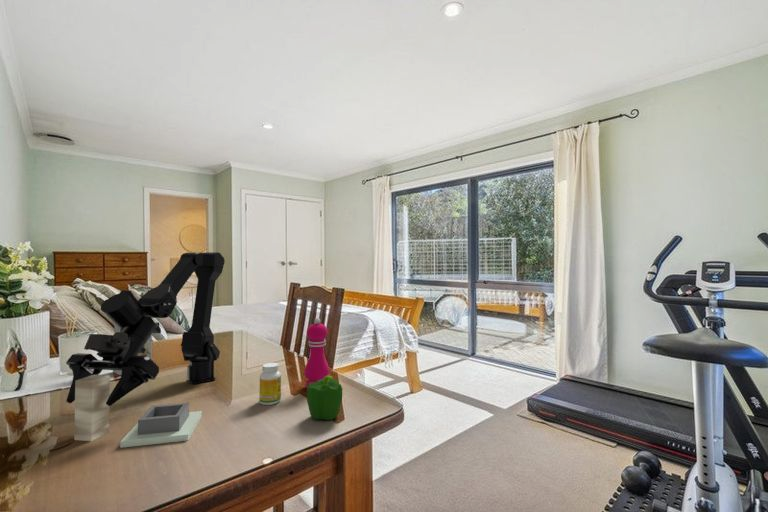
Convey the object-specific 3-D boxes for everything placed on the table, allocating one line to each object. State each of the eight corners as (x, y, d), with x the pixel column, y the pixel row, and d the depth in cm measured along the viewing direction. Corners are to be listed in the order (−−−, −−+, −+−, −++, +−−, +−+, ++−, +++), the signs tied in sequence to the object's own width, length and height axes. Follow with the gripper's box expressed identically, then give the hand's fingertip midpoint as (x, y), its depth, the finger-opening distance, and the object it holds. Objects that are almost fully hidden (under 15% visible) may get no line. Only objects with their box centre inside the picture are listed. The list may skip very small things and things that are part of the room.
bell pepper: (303, 412, 88) (303, 371, 88) (336, 407, 91) (336, 367, 91) (310, 427, 80) (311, 381, 80) (346, 421, 83) (346, 377, 83)
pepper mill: (305, 383, 109) (306, 316, 109) (330, 382, 110) (330, 316, 110) (302, 391, 102) (303, 320, 102) (328, 390, 103) (329, 320, 103)
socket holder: (144, 421, 82) (144, 402, 83) (201, 416, 85) (202, 398, 86) (120, 447, 71) (120, 426, 71) (188, 440, 74) (188, 419, 74)
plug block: (92, 430, 78) (93, 374, 78) (109, 432, 77) (110, 375, 78) (74, 439, 74) (75, 380, 74) (91, 441, 73) (92, 381, 74)
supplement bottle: (259, 399, 96) (259, 362, 96) (280, 396, 98) (280, 361, 98) (259, 406, 91) (259, 368, 91) (281, 404, 93) (281, 366, 93)
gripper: (75, 317, 82) (18, 382, 70) (150, 319, 79) (103, 387, 68) (105, 344, 89) (59, 407, 78) (175, 347, 87) (136, 412, 76)
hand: (87, 403), depth 75 cm, fingers open, 9 cm apart
